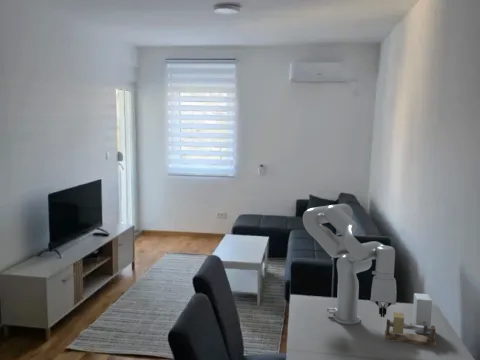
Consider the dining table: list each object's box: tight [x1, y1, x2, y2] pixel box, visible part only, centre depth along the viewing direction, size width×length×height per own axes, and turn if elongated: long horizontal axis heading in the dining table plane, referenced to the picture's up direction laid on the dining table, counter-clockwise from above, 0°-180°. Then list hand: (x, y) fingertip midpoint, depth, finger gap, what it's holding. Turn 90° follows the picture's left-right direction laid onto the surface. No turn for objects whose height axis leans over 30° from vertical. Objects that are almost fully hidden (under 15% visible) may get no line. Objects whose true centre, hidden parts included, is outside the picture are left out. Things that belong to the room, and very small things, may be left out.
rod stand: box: [384, 319, 437, 348], centre depth 191 cm, size 20×6×8 cm, turn 74°
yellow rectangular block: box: [392, 311, 405, 334], centre depth 192 cm, size 4×5×7 cm
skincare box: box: [412, 292, 433, 335], centre depth 200 cm, size 8×7×16 cm
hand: (382, 315), depth 193 cm, fingers closed
